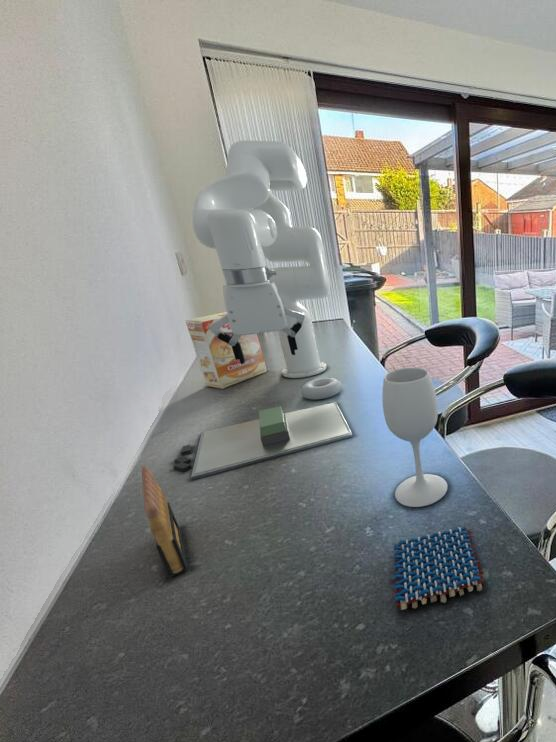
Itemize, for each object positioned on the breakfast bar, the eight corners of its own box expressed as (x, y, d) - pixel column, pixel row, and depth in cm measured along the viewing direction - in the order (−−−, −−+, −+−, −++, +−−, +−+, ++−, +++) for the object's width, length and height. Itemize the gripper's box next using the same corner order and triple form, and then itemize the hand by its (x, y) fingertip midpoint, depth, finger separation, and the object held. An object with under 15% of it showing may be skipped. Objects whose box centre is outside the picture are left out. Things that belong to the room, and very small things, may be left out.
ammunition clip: (187, 570, 53) (156, 496, 48) (170, 578, 51) (136, 503, 47) (179, 528, 60) (151, 461, 56) (164, 535, 59) (134, 466, 54)
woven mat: (486, 592, 48) (486, 579, 47) (397, 616, 46) (394, 604, 45) (469, 532, 58) (468, 521, 57) (394, 550, 55) (392, 538, 54)
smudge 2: (175, 463, 77) (173, 459, 77) (183, 459, 79) (181, 456, 78) (183, 466, 76) (182, 462, 76) (191, 462, 77) (190, 458, 77)
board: (202, 434, 88) (201, 431, 87) (336, 403, 101) (335, 401, 101) (192, 480, 72) (190, 476, 71) (352, 436, 85) (352, 433, 85)
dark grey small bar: (191, 444, 82) (192, 447, 83) (182, 446, 82) (183, 449, 82) (189, 450, 80) (190, 453, 80) (180, 452, 79) (182, 455, 80)
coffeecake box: (222, 389, 112) (201, 321, 105) (205, 386, 115) (183, 320, 108) (268, 371, 125) (252, 310, 118) (252, 369, 128) (235, 309, 121)
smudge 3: (174, 469, 75) (173, 465, 75) (182, 465, 76) (180, 462, 76) (184, 472, 74) (183, 468, 74) (192, 468, 75) (190, 464, 75)
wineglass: (422, 514, 61) (406, 390, 54) (384, 496, 66) (363, 379, 58) (458, 484, 68) (447, 370, 60) (420, 470, 73) (406, 361, 65)
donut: (295, 402, 103) (333, 401, 102) (292, 390, 101) (330, 388, 101) (313, 387, 112) (348, 386, 112) (310, 376, 111) (346, 375, 110)
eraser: (261, 426, 89) (256, 410, 87) (286, 420, 91) (282, 404, 90) (262, 446, 81) (257, 428, 79) (290, 439, 83) (285, 422, 82)
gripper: (293, 271, 86) (310, 346, 93) (196, 278, 78) (222, 360, 85) (296, 275, 80) (314, 354, 87) (191, 284, 72) (220, 371, 79)
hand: (268, 357), depth 86 cm, fingers open, 9 cm apart
